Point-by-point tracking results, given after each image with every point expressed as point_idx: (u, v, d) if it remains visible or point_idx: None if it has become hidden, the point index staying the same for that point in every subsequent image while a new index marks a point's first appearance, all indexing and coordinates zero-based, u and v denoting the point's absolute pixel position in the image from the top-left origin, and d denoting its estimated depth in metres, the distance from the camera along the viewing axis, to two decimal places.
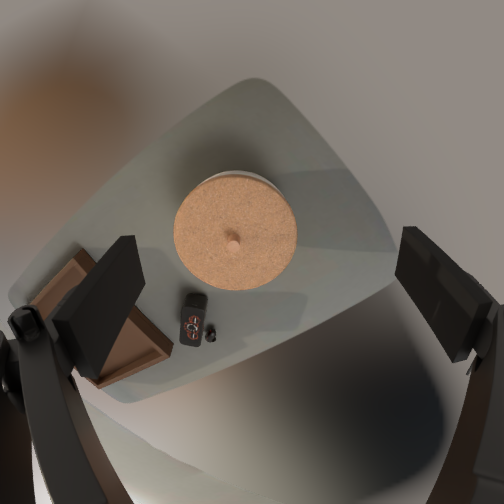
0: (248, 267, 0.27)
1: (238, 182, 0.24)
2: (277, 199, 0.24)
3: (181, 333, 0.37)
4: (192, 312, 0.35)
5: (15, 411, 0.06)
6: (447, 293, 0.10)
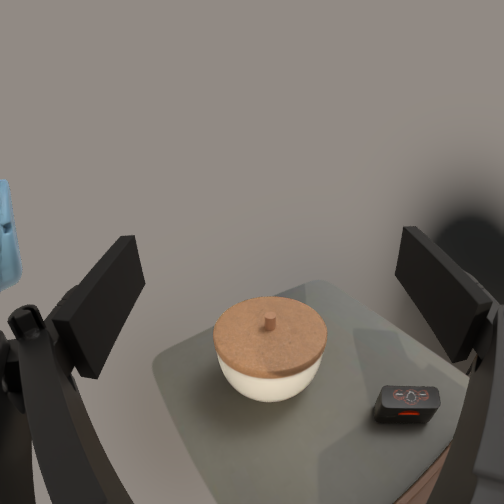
0: (299, 319, 0.29)
1: (219, 324, 0.29)
2: (237, 305, 0.31)
3: (424, 406, 0.22)
4: (388, 397, 0.24)
5: (15, 411, 0.06)
6: (447, 293, 0.10)
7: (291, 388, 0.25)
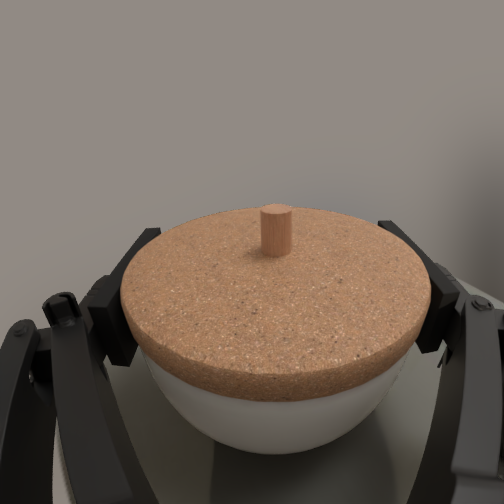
0: (346, 234, 0.11)
1: (146, 249, 0.11)
2: (198, 219, 0.14)
3: None
4: None
5: (40, 403, 0.06)
6: None
7: (346, 423, 0.07)
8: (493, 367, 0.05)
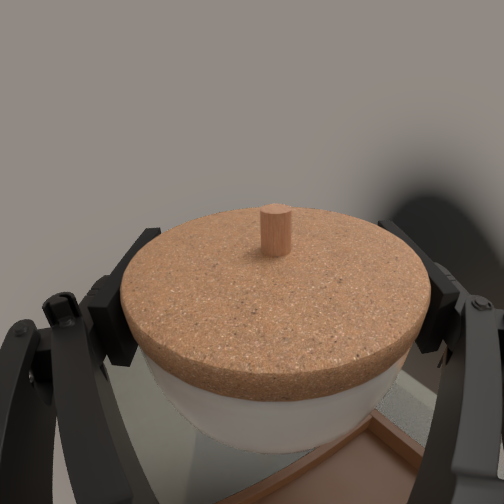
0: (346, 234, 0.11)
1: (146, 249, 0.11)
2: (198, 219, 0.14)
3: None
4: None
5: (41, 403, 0.07)
6: None
7: (346, 423, 0.08)
8: (493, 367, 0.05)
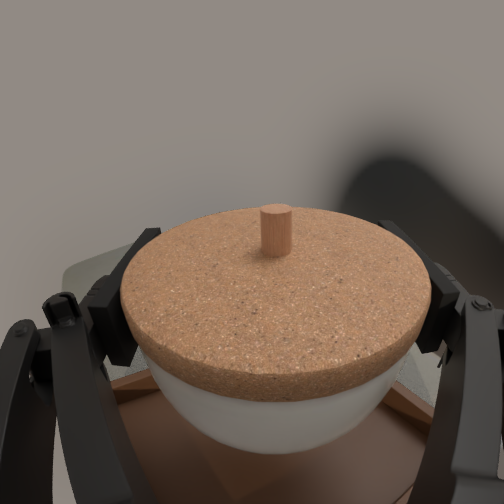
0: (347, 234, 0.11)
1: (146, 249, 0.11)
2: (198, 219, 0.14)
3: None
4: None
5: (40, 403, 0.07)
6: None
7: (347, 423, 0.07)
8: (493, 367, 0.05)
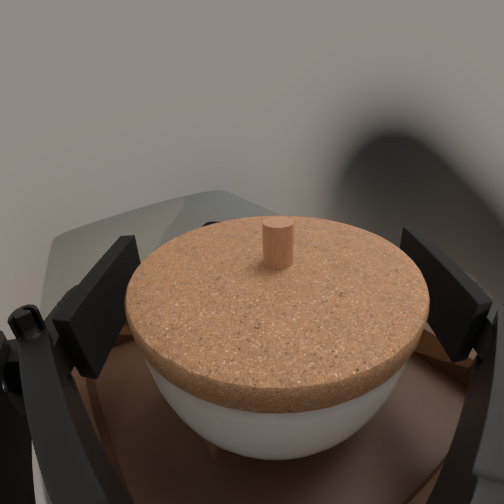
0: (347, 246, 0.11)
1: (149, 260, 0.11)
2: (200, 228, 0.14)
3: None
4: None
5: (15, 411, 0.06)
6: (447, 293, 0.10)
7: (346, 431, 0.08)
8: None
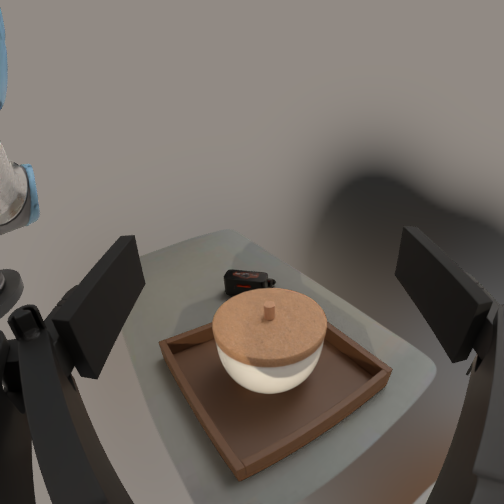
0: (298, 308, 0.29)
1: (218, 315, 0.29)
2: (236, 296, 0.31)
3: (251, 280, 0.44)
4: (229, 274, 0.46)
5: (15, 411, 0.06)
6: (447, 293, 0.10)
7: (292, 378, 0.25)
8: None
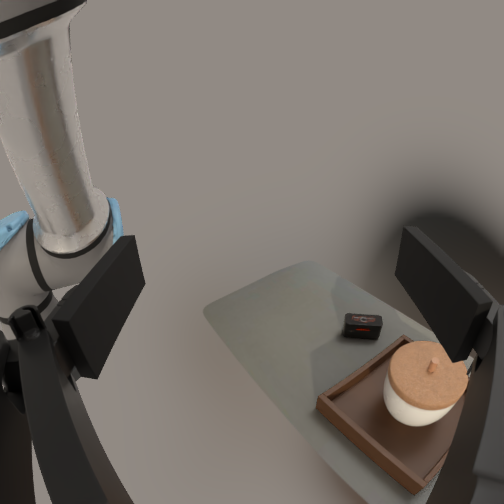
0: (445, 358, 0.30)
1: (394, 372, 0.29)
2: (397, 353, 0.32)
3: (371, 324, 0.45)
4: (349, 318, 0.47)
5: (15, 411, 0.06)
6: (447, 293, 0.10)
7: (447, 412, 0.26)
8: None
